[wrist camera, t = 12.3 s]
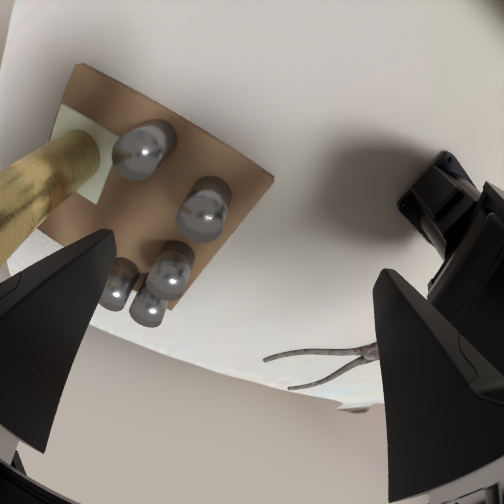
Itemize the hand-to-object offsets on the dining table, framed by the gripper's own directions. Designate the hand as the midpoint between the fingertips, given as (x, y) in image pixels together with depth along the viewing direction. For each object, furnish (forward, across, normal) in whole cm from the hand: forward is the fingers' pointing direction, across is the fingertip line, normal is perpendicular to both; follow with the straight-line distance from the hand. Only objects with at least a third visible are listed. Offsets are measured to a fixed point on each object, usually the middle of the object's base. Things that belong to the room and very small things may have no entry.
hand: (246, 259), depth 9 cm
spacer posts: (+12, +8, +7) cm, 16 cm away
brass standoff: (+12, +14, +2) cm, 19 cm away
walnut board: (+13, +11, +6) cm, 18 cm away
